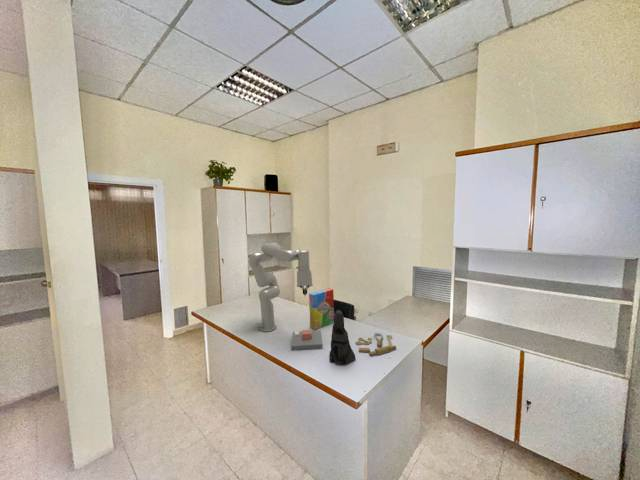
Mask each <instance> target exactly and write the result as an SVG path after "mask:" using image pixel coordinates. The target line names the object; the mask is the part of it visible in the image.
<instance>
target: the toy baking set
mask: <svg viewBox="0 0 640 480" xmlns="http://www.w3.org/2000/svg"><path fill="white" fill-rule="evenodd" d="M378 336H379V337H380V338H379V337H378ZM383 337H384V335H383V334H382V333H380V332H378V333H377V332H374V335H373V338H372V337H368V338H367V340H366V339H364V338H363V337H358V338H357V339H358V341H355V344H354V345H356V346H362V345H364V346H365V345H366V346H368V345H371V344H372V340H373V339H374V340H375V341H376V346H377V348H375V349H374V350H372V351H371V349H370V347H358V353H361V354H362V353H366V354H367V353H368V355H369V356H375V355H376V354H377V355H376V356H379V354H380V355H383V354H386V353H389V352H391V351H392V350H396V349H397V346H396V345H393V343H392V340H393V336H392V335H390V334H389V335H388V334H386V340H387V341H388V342H387V343H388V344H387V345H385V346H382V345H383Z"/></svg>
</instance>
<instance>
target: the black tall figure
mask: <svg viewBox="0 0 640 480" xmlns="http://www.w3.org/2000/svg"><path fill="white" fill-rule="evenodd" d="M332 324H333V325H332V330H331V340H330V351H329V354H328V358H329V359H328V360H329V362H330V364H331V363H332V364H335V365H337V366H347V365H349V364H351V363H353V362H355V361H356V360H357V358H356V354H355V352H354V350H353V349H352V346H351V343H350V340H349V334H348V331H347V329H346V328H345V317H344V314H343V312H342V310H341V309H336V310H335V311H334V323H332Z"/></svg>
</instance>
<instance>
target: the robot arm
mask: <svg viewBox="0 0 640 480" xmlns="http://www.w3.org/2000/svg"><path fill="white" fill-rule="evenodd" d="M274 257H275V258H277V259H278V260H279V261H283V262H289V263H290V262H293V261H297V264H298V265H297V266H296V267H295V269H296V270H297V271H296V287H297V288H300V289H302V294H303V296H307V295H308V289H309V288H311V287H313V278H312V277H313V276H312V270H311V269H310V251H309V250H308V249H300V248H294V249H289V250H287V249H284V247H283V246H282V245H279V243H278V242H266V243H264V244H263V245H262V246H261V251H256V252H253V253H252V254H250V256H249V258H248V263H249V266H250V268H251V270H252V272H253V276H254V279H255V282H256V285H257V286H258V287H259V288H262V289H261V290H260V291H259V292H258V299H259V302H260V314H261V315H260V316H261V322H260V323H258V322H257V323H256V324H255V325H256V327H257V328H259V330H260V331H261V332H264V333H266V332H273V331H275V330H276V329H277V328H278V327H277V324H276V323H275V309H274V303H273V302H272V300H274V299H275V298H277V297H279V296H280V294H281V289H280V286H279V282H278V280H277V278H276V275H275V274H274V273H273V272H267V273H266V270H265V268H264V266H263V265H262V264H261V263H265V262H269V261H271V260H272V259H273V258H274ZM267 286H268V287H267ZM264 287H265V288H264Z"/></svg>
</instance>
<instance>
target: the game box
mask: <svg viewBox="0 0 640 480" xmlns="http://www.w3.org/2000/svg"><path fill="white" fill-rule="evenodd" d="M308 297H309V298H308V299H309V300H308V301H309V328H310V330H312V331H317V330H319V329H321V328H324V327H326V326H329V325H331V324H334V315H335V307H334V306H335V303H334V302H335V301H334V289H333V288H330V287H329V288H325V289H321V290H318V291H314V292H311V293H308Z"/></svg>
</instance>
